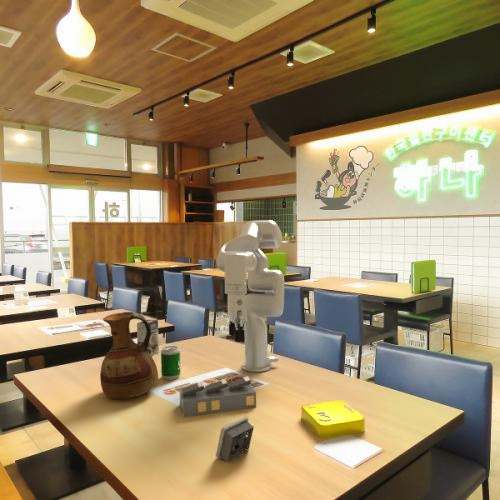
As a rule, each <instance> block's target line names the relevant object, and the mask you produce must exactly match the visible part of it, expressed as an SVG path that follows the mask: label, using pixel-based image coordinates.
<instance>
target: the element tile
mask: <svg viewBox="0 0 500 500" xmlns="http://www.w3.org/2000/svg"><path fill="white" fill-rule="evenodd" d="M300 409H301V411H300V412H301V415H300V416H301V418H300V419H301V421H302V422H303V423H304V424H305V426H307V427H308V428H309V429H310V430H311V431H312V433H313V434H314V435H315V436H316V437H317V438H319V439H322V440H323V439H327V440H328V439H331V438H336V437H337V438H338V437H339V438H340V437H344V436H349V435H355V434H361V433H364V432H365V430H366V429H365V427H366V426H365V425H366V424H365V420H366V419H365V416H364V415H363V414H361V413H360V412H359V411H357V410H356V409H355V408H354V407H352V406H351V405H350V404H349V403H348V402H346V401H344V400H343V399H334V400H328V401H322V402H315V403H314V402H313V403H307V404H302V406H301V408H300Z"/></svg>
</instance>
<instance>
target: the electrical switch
mask: <svg viewBox="0 0 500 500" xmlns="http://www.w3.org/2000/svg"><path fill="white" fill-rule="evenodd" d="M254 427H255V426H254V425H252V424H251V423H250V420H249V417H247V416H243V417H242V418H239V419H237V420H235V421H232V422H231V423H229V424H226V425H224V426H222V427H221V429H220V432H219V433H220V434H219V439H218V443H217V449H216V453H215V457H216V458H217V459H218V460H219V459H222V460H224V461H225V462H226V463H228V464H229V462H231V461H233V460H235V459H237V458H238V457H240V456H242V455H244V454H246V453H248V452H249V449H250V445H251V443H252V437H253V432H254Z"/></svg>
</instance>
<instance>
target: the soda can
mask: <svg viewBox="0 0 500 500" xmlns="http://www.w3.org/2000/svg"><path fill="white" fill-rule="evenodd" d="M160 364H161V366H160V367H161V371H160V372H161V377H162V378H163V379H164V380H167V381H174V380H176V379H179V377H180V376H181V350H180V348H179V347H178V346H176V345H170V346H164V347H163V348H162V349H161V350H160Z"/></svg>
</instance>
